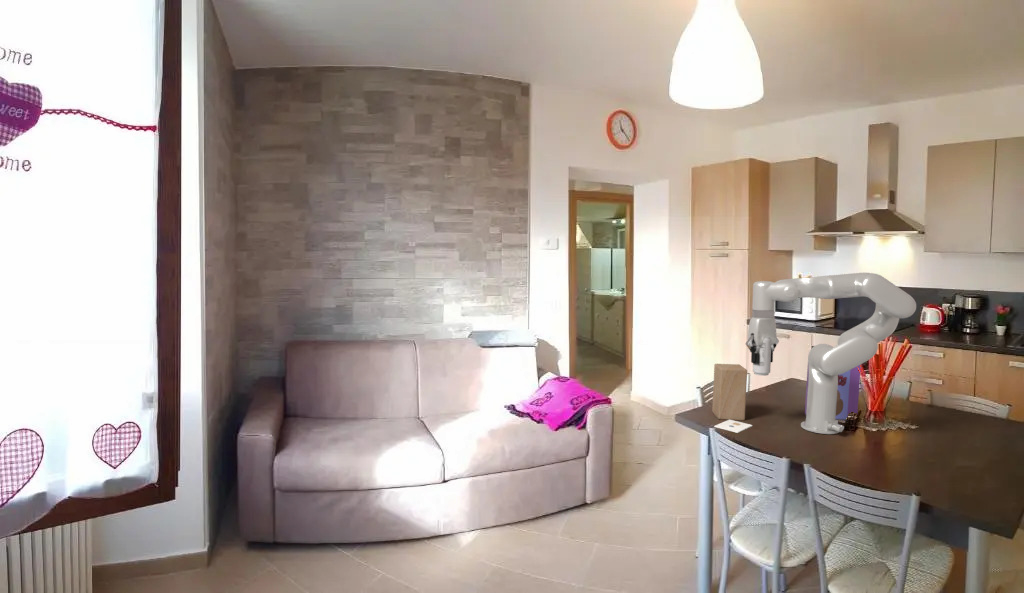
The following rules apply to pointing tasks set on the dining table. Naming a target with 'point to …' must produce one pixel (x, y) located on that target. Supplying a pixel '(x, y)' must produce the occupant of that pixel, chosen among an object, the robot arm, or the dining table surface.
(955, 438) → the dining table surface
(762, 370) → the energy drink can
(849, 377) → the cereal box
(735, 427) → the white printed card
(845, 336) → the robot arm
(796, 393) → the dining table surface
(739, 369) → the wooden block
